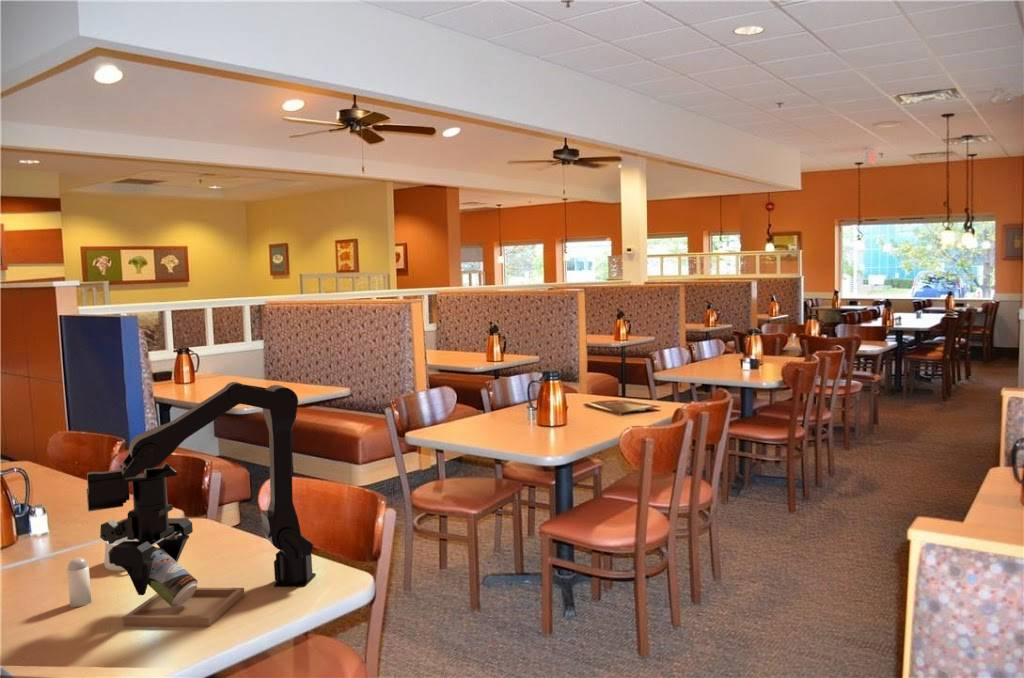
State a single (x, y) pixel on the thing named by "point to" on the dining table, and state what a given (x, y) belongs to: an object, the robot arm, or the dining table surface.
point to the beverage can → (170, 579)
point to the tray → (185, 609)
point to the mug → (107, 549)
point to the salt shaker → (79, 582)
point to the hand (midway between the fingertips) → (155, 585)
